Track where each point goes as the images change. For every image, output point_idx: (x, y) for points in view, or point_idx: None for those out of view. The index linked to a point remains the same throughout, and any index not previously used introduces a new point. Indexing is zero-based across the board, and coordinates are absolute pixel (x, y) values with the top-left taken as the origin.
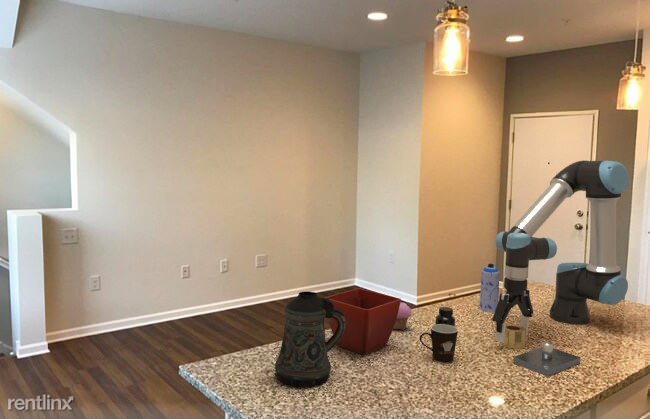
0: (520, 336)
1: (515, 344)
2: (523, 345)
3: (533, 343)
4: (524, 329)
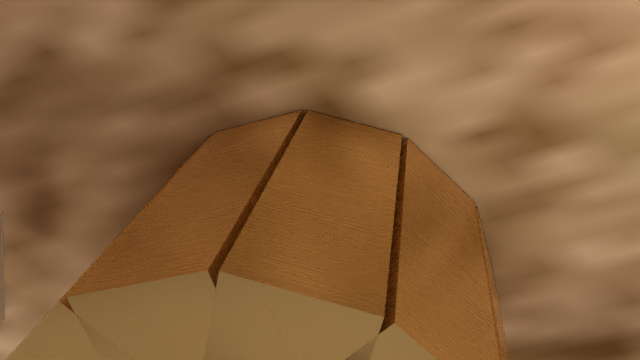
0: (408, 259)
1: (474, 234)
2: (327, 130)
3: (16, 59)
4: (135, 307)
